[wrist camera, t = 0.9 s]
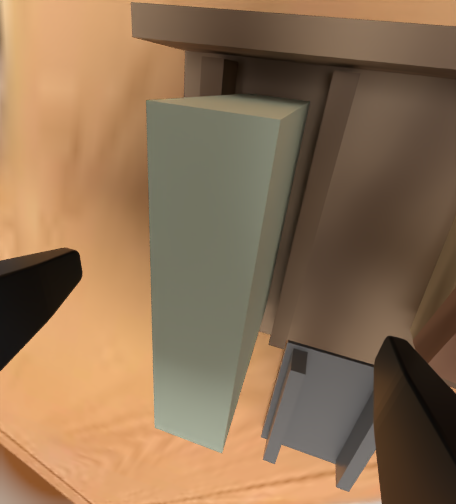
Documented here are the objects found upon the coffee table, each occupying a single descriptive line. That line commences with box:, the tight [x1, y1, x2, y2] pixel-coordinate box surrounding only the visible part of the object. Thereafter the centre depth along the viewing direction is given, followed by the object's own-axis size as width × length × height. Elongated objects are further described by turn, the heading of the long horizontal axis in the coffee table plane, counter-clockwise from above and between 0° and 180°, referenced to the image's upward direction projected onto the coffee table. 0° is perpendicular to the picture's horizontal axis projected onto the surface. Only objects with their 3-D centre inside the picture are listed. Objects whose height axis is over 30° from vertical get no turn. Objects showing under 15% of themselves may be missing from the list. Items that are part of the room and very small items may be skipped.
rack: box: [131, 2, 456, 388], centre depth 12 cm, size 18×14×5 cm
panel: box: [146, 93, 310, 453], centre depth 11 cm, size 2×10×8 cm, turn 173°
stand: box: [261, 340, 376, 492], centre depth 19 cm, size 6×10×2 cm
